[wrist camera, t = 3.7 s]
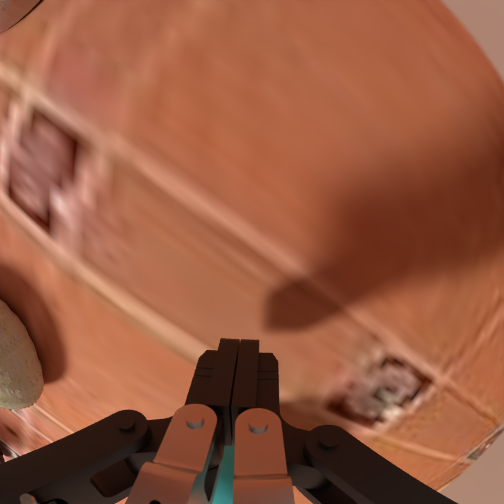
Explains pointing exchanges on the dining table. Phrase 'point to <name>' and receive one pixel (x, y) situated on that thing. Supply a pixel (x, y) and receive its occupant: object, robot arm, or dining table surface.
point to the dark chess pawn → (1, 458)
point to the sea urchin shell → (17, 363)
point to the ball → (226, 478)
